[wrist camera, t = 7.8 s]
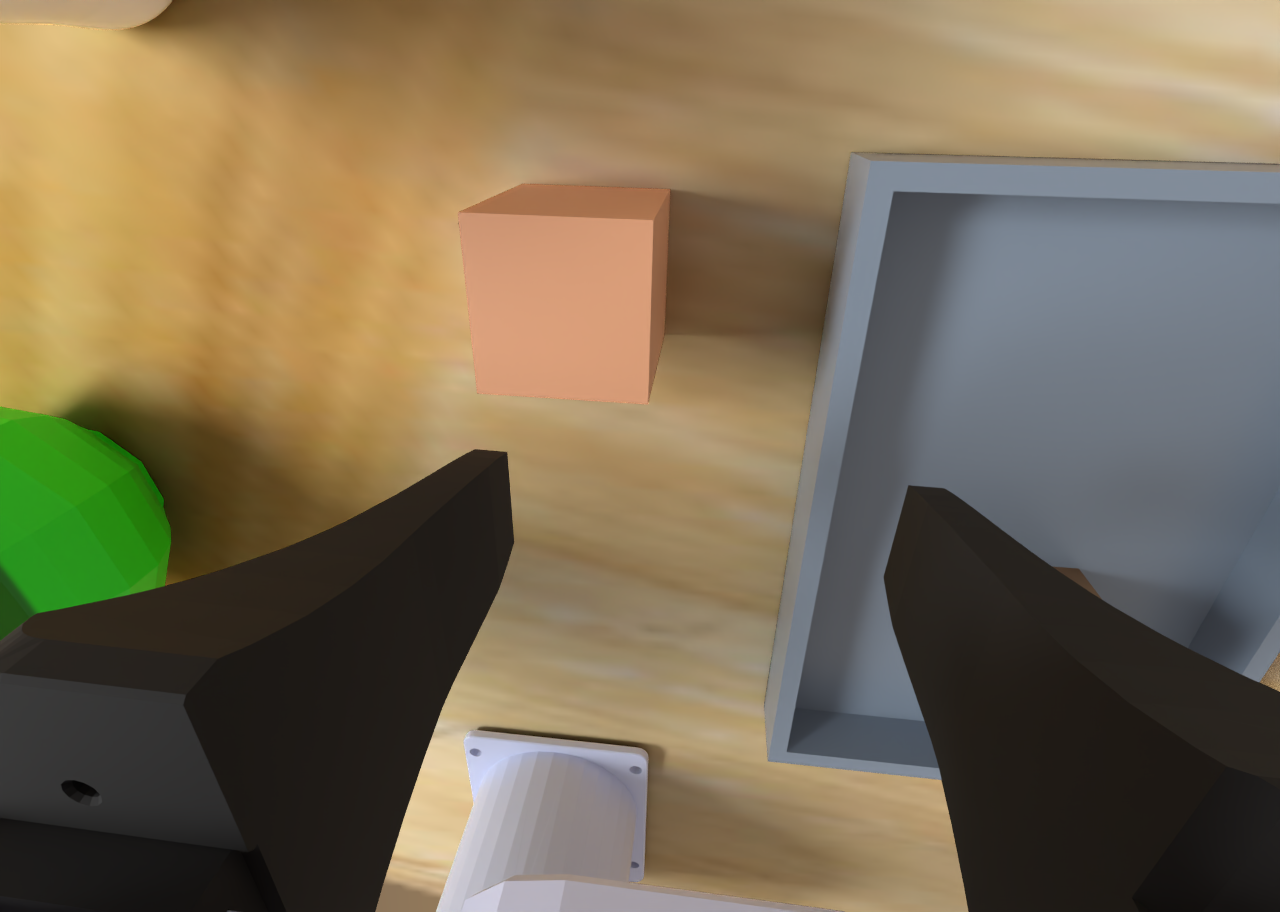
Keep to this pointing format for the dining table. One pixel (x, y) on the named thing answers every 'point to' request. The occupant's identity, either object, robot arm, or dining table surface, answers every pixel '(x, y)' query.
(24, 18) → the drinking glass
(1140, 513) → the tray
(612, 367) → the terracotta block
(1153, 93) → the dining table surface
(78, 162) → the dining table surface
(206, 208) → the dining table surface
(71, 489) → the plastic bottle
